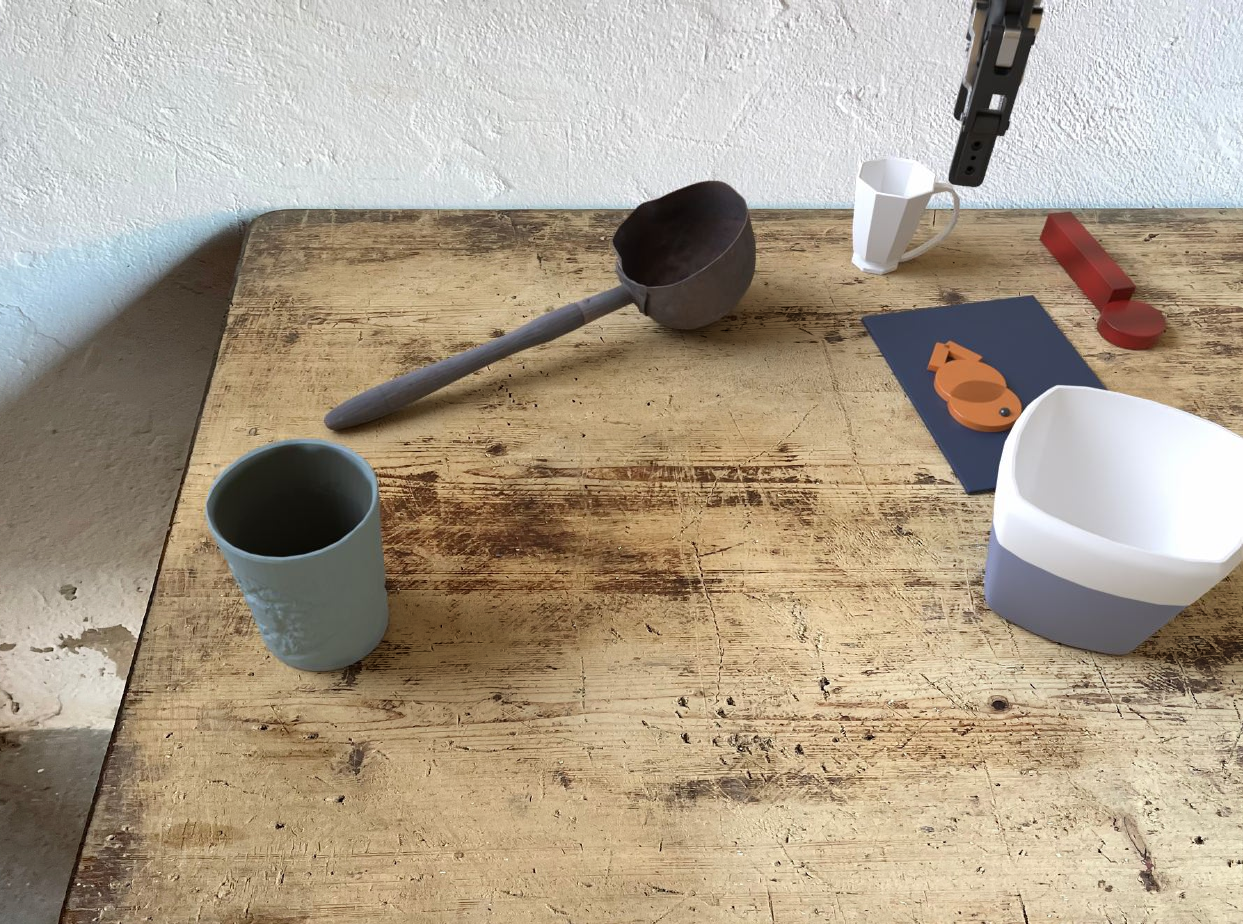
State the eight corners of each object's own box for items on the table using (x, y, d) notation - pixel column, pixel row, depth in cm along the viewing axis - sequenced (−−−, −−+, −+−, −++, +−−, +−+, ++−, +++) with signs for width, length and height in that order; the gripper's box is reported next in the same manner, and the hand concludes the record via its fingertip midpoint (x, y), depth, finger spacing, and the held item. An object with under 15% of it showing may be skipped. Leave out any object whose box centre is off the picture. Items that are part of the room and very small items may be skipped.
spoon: (1023, 241, 104) (1033, 215, 102) (1075, 235, 105) (1085, 209, 103) (1115, 353, 94) (1127, 327, 92) (1171, 345, 95) (1185, 319, 93)
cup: (828, 241, 104) (846, 156, 97) (932, 235, 104) (957, 151, 98) (846, 285, 99) (867, 200, 93) (955, 279, 100) (983, 194, 94)
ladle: (790, 304, 94) (776, 198, 86) (402, 547, 90) (350, 460, 82) (712, 247, 101) (693, 145, 93) (350, 470, 97) (297, 384, 89)
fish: (910, 351, 93) (913, 339, 92) (972, 343, 94) (976, 331, 93) (964, 437, 87) (969, 425, 86) (1031, 427, 88) (1036, 416, 87)
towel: (1031, 298, 99) (1033, 294, 98) (1161, 466, 86) (1164, 462, 85) (860, 320, 96) (861, 316, 96) (967, 495, 84) (969, 491, 83)
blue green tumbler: (394, 561, 79) (372, 429, 69) (407, 674, 73) (384, 546, 63) (248, 579, 78) (205, 447, 68) (249, 694, 72) (202, 568, 62)
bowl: (984, 484, 84) (1035, 362, 75) (1197, 551, 80) (1277, 431, 71) (931, 625, 76) (981, 506, 67) (1165, 707, 72) (1252, 593, 63)
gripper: (1123, -78, 57) (1023, 214, 70) (1112, -173, 66) (1024, 105, 79) (973, -90, 59) (902, 200, 72) (981, -182, 67) (915, 93, 80)
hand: (966, 150), depth 75 cm, fingers open, 8 cm apart
